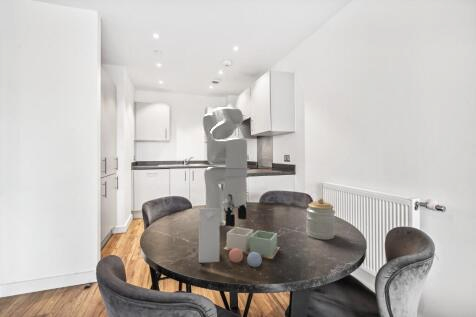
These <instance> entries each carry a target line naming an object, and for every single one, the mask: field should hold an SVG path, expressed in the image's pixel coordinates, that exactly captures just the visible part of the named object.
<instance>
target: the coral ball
mask: <svg viewBox="0 0 476 317" xmlns="http://www.w3.org/2000/svg"><path fill="white" fill-rule="evenodd" d="M243 258H244V253H242V251H241V250H240V249H238V248H234V249H232V250H229V253H228V259H229V261H230V262H232V263H240V262H242V260H243Z"/></svg>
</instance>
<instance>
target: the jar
mask: <svg viewBox="0 0 476 317" xmlns="http://www.w3.org/2000/svg"><path fill="white" fill-rule="evenodd" d="M307 205H308V207H307V208H306V212H307V213H306V214H307V215H306V228H305V230H306V235H308V237H310V238H313V239H315V240H316V239H317V240H326V241H327V240H332V239H334V238H335V235H336V231H335V230H336V229H335V227H336V218H335V214H336V211H335V210H334V209H333V208H334V206H333V205H332V204H331V203H329V202H327V201H324V199H323V198H318V199H317V201H311V202H310V203H308V204H307Z"/></svg>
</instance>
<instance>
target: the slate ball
mask: <svg viewBox="0 0 476 317" xmlns="http://www.w3.org/2000/svg"><path fill="white" fill-rule="evenodd" d="M247 255H248V256H247V257H246V258H247V259H246V261H247V265H248V266H250V267H254V268H257V267H260V266H261V264H262V262H263V261H262V260H263V259H262V258H263V257H261V256H260V254H259V253H257V252H251V253H250V254H247Z"/></svg>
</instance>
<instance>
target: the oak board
mask: <svg viewBox="0 0 476 317" xmlns="http://www.w3.org/2000/svg"><path fill="white" fill-rule="evenodd" d="M280 248H281V247H280V246H277V249H276V250H275V252H274V253H273V255H272V256H271V257H270V256H265V255H260V256H261V258H266V259H270V260H272V259H274V257H275V256H276V254H277V253H278V251H279V250H280ZM222 249H223V250H227V251H231V250H232V249H230V248H227V245H225V247H223V248H222ZM242 253H243V254H246V255H249V254H250V248H249V249H248V250H247V251H246V252H245V251H242Z"/></svg>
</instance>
